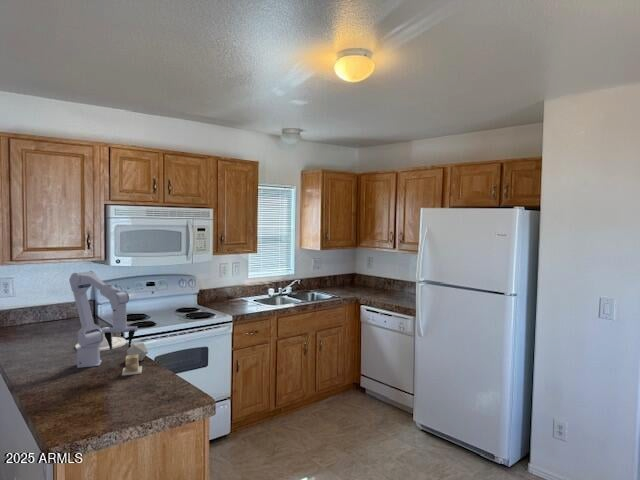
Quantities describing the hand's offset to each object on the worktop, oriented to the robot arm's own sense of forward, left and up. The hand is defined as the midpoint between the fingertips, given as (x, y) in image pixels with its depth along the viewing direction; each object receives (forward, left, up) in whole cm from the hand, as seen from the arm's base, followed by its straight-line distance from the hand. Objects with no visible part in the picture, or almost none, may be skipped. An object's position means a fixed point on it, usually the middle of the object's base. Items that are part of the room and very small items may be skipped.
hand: (120, 348), depth 202 cm
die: (+6, +14, -11) cm, 19 cm away
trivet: (+5, -3, -10) cm, 12 cm away
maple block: (+5, -3, -10) cm, 11 cm away
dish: (-14, +48, -11) cm, 51 cm away
